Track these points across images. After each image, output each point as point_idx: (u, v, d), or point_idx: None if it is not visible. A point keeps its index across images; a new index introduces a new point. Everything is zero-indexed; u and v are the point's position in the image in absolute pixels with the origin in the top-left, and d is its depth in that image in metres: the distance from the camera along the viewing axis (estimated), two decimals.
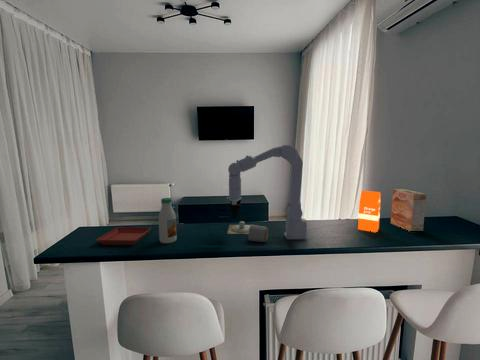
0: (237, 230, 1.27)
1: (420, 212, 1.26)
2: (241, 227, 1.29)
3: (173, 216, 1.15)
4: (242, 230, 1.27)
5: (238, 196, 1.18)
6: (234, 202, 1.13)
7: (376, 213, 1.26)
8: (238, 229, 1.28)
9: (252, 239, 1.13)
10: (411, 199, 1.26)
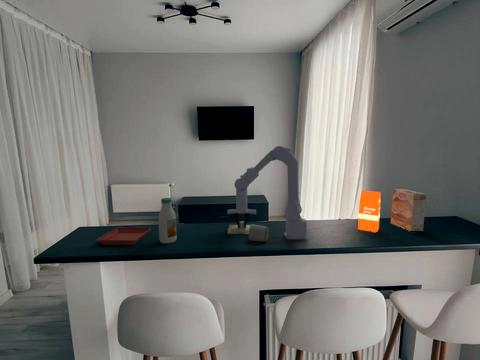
0: (237, 230, 1.27)
1: (420, 212, 1.26)
2: (241, 227, 1.29)
3: (173, 216, 1.15)
4: (242, 230, 1.27)
5: (237, 209, 1.27)
6: None
7: (376, 213, 1.26)
8: (238, 229, 1.28)
9: (252, 239, 1.14)
10: (411, 199, 1.26)
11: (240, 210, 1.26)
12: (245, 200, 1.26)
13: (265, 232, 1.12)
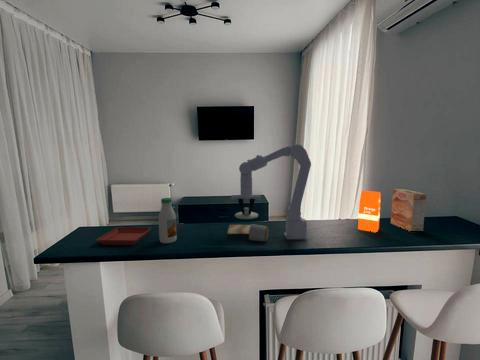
0: (242, 216, 1.22)
1: (420, 212, 1.26)
2: (246, 213, 1.24)
3: (173, 216, 1.15)
4: (247, 216, 1.22)
5: (241, 194, 1.22)
6: None
7: (376, 213, 1.26)
8: (243, 215, 1.23)
9: (252, 238, 1.14)
10: (411, 199, 1.26)
11: (245, 195, 1.21)
12: (250, 185, 1.21)
13: (265, 232, 1.12)
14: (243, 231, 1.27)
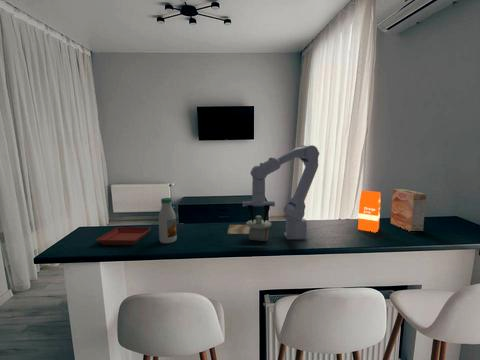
0: (254, 225, 1.13)
1: (420, 212, 1.26)
2: (258, 222, 1.15)
3: (173, 216, 1.15)
4: (259, 225, 1.13)
5: (253, 200, 1.13)
6: None
7: (376, 213, 1.26)
8: (255, 224, 1.14)
9: (253, 238, 1.14)
10: (411, 199, 1.26)
11: (257, 202, 1.12)
12: (264, 190, 1.13)
13: (265, 232, 1.13)
14: (243, 231, 1.27)
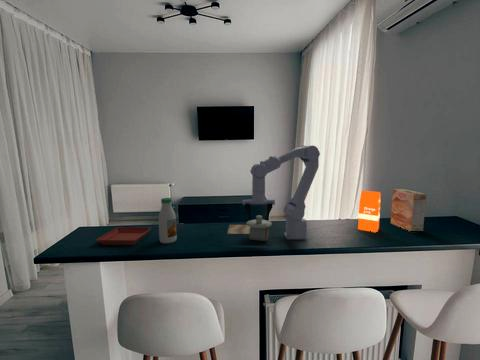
0: (255, 225, 1.13)
1: (420, 212, 1.26)
2: (259, 222, 1.15)
3: (173, 216, 1.15)
4: (260, 225, 1.14)
5: (253, 199, 1.13)
6: None
7: (376, 213, 1.26)
8: (255, 224, 1.15)
9: (253, 238, 1.15)
10: (411, 199, 1.26)
11: (257, 200, 1.12)
12: (264, 188, 1.13)
13: (266, 231, 1.13)
14: (243, 231, 1.27)
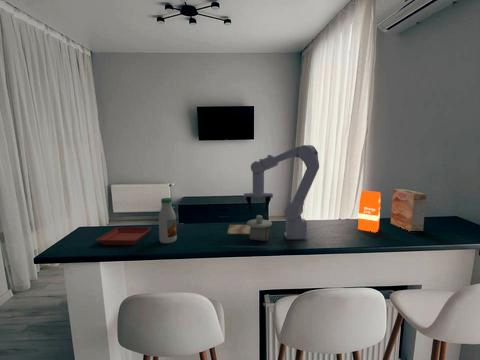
0: (255, 225, 1.13)
1: (420, 212, 1.26)
2: (259, 222, 1.16)
3: (173, 216, 1.15)
4: (260, 224, 1.14)
5: (254, 192, 1.26)
6: None
7: (376, 213, 1.26)
8: (256, 224, 1.15)
9: (253, 238, 1.15)
10: (411, 199, 1.26)
11: (257, 193, 1.25)
12: (261, 183, 1.25)
13: (266, 231, 1.13)
14: (243, 231, 1.27)
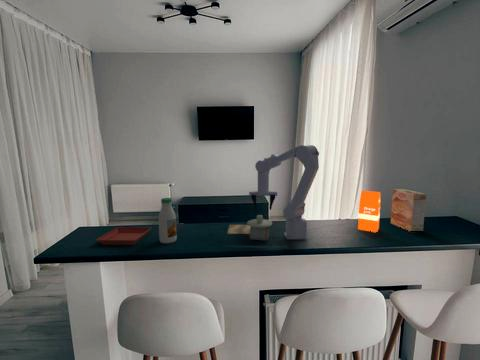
0: (256, 225, 1.14)
1: (420, 212, 1.26)
2: (259, 221, 1.16)
3: (173, 216, 1.15)
4: (261, 224, 1.14)
5: (259, 191, 1.30)
6: (249, 193, 1.32)
7: (376, 213, 1.26)
8: (256, 224, 1.15)
9: (253, 238, 1.15)
10: (411, 199, 1.26)
11: (262, 192, 1.29)
12: (265, 182, 1.28)
13: (266, 231, 1.14)
14: (243, 231, 1.27)
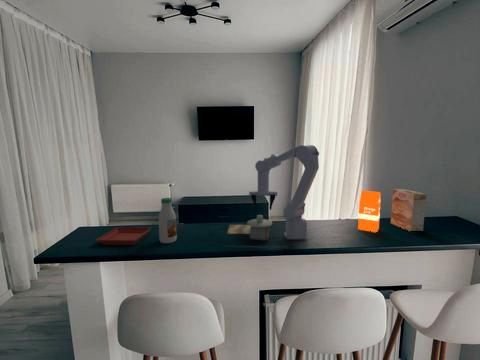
0: (256, 224, 1.14)
1: (420, 212, 1.26)
2: (259, 221, 1.16)
3: (173, 216, 1.15)
4: (261, 224, 1.15)
5: (259, 191, 1.30)
6: (249, 193, 1.32)
7: (376, 213, 1.26)
8: (256, 223, 1.16)
9: (253, 237, 1.15)
10: (411, 199, 1.26)
11: (262, 192, 1.29)
12: (265, 182, 1.28)
13: (266, 231, 1.14)
14: (243, 231, 1.27)
